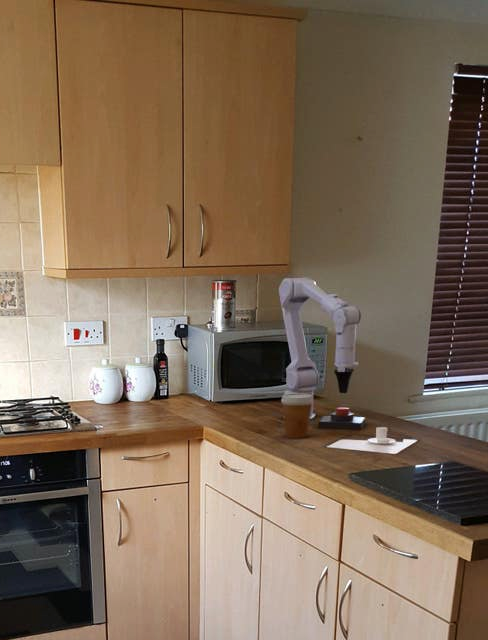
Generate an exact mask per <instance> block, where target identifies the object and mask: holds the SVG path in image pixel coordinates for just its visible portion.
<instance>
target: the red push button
mask: <svg viewBox="0 0 488 640" xmlns="http://www.w3.org/2000/svg"><path fill="white" fill-rule="evenodd" d="M335 412H336V414H337V415H348V414H349V412H350V408H349V407H345V406H339V407H336V408H335Z"/></svg>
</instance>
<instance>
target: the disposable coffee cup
mask: <svg viewBox="0 0 488 640" xmlns="http://www.w3.org/2000/svg"><path fill="white" fill-rule="evenodd" d="M284 394H285V393H284ZM284 394H282V397H281V399H280V401H281V404H282V411H283V414H284V418H283V421H284V422H283V425H284V433H285V437H286V438H290V439H303V438H307V437H308V431H309V424H310V420H311V419H310V413H311V406H312V403H313V404H314V397H313V398H312V395H310V394H301V393H294V394H285V395H284Z"/></svg>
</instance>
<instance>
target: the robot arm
mask: <svg viewBox="0 0 488 640" xmlns="http://www.w3.org/2000/svg"><path fill="white" fill-rule="evenodd" d="M278 294H279V299H280V300H279V301H280V306H281V311H282V316H283V322H284V327H285V333H286V338H287V343H288V348H289V354H290V360H291V362H290V363H289V365H288V366H287V367H286V368H285V372H286V378H285V382H286V383H285V384H286V386H287V388H288V389H286V390H284V394H283V395H285V394H294V393H301V394H310V395H312V398H313V399H314V391H315V390H316V387H318V385H319V383H320V373H319V371H318V370H317V367H316V363H315V362H314V361H312V360H311V359H310V358H309V355H308V350H307V343H306V339H305V334H304V333H305V332H304V328H303V322H302V317H301V308H302V307H304V306H305V305H306V303H308V301H309V300H310V299H311V301H314V302H316V303H317V304H319V305H320V310H321V311H322V312H323V313H324V314H326V315H327V316H329V317H330V318H331V319H332V321H333V324H334V330H335V332H336V336H335V360H334V366H335V367H337V368H336V369H334V371H333V372H334V374H335V377H336V381H337V385H338V392H339V394H347V393H348V391H349V387H350V381H351V378H352V375H353V374H354V371H355V368H351V367H354V366H358V365H359V361H355V358H356V357H355V355H356V341H357V340H356V339H357V337H356V336H357V325H358V324H360V322H361V319H362V313H361V309H360V308H359V307H358V306H357V305H353V304H352V305H349V304H348V302H347V301H343V300H342V299H341V298H339V295H338V294H336V293H330V294H327V293H326V292H325V291H324V290H323V289H322V288H321V287H320V286H318V285H317V284H316V280H314V279H312V278H311V277H309V276H307V277H296V278H295V277H293V278H289V277H286V278H283V279H282V281H281V282H280V285H279V287H278ZM349 367H350V368H349ZM315 416H316V413H314V402H313V403H312V406H311V413H310V419H309V420H312V419H314V417H315ZM282 419H284V414H283V415H282Z"/></svg>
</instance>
